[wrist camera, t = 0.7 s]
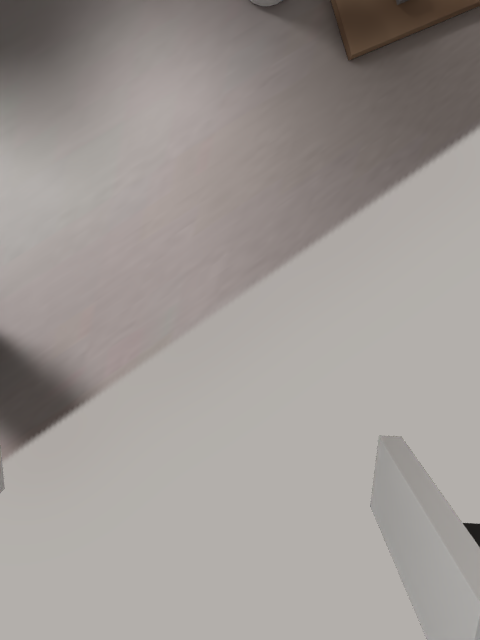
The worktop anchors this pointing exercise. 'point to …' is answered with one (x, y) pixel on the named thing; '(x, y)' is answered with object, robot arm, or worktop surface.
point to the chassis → (390, 20)
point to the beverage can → (266, 2)
